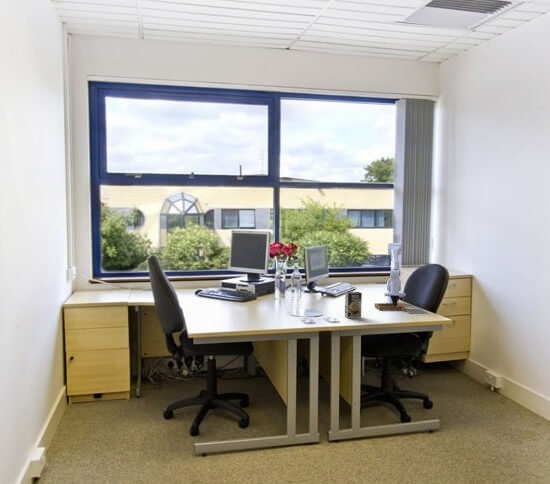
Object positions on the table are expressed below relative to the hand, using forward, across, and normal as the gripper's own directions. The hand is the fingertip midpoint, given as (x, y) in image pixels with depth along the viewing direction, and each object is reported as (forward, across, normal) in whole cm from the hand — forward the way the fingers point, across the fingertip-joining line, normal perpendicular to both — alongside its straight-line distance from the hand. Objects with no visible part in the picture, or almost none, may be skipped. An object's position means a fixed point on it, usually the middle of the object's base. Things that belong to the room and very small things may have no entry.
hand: (394, 306), depth 336 cm
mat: (+1, +11, -10) cm, 15 cm away
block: (+1, +4, 0) cm, 4 cm away
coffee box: (+2, -35, -24) cm, 43 cm away
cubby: (+1, -5, 0) cm, 5 cm away
